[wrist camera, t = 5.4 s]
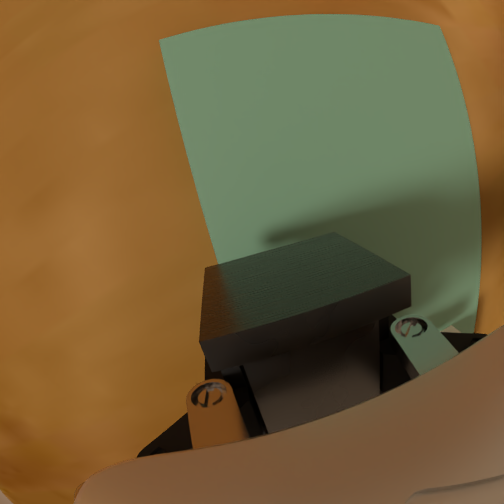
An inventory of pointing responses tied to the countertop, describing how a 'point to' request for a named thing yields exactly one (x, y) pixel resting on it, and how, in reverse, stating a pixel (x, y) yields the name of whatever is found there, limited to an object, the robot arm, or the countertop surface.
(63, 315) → the countertop surface
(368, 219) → the board
